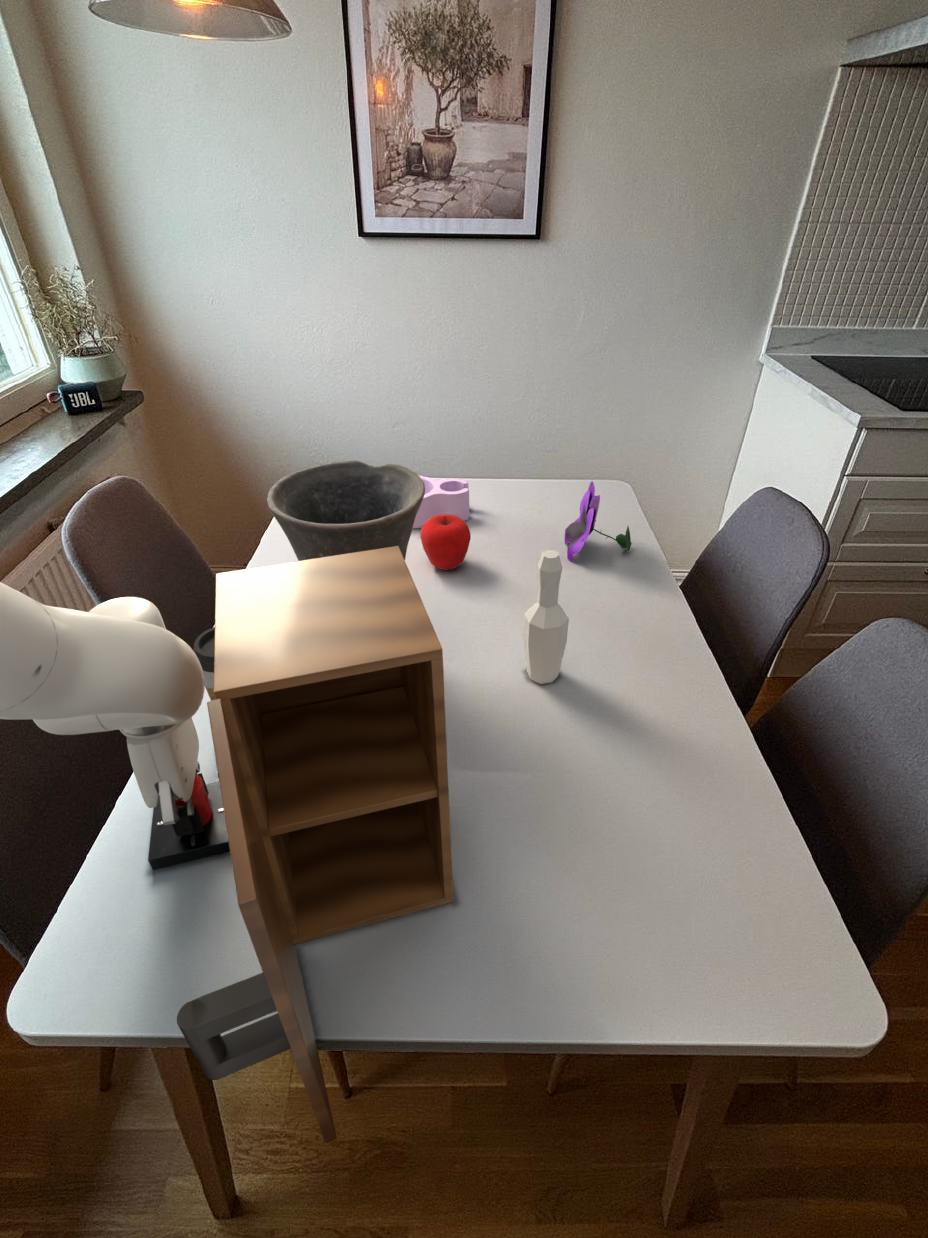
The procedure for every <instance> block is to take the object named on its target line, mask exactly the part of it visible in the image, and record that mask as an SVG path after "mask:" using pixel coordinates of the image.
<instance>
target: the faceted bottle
mask: <svg viewBox="0 0 928 1238" xmlns="http://www.w3.org/2000/svg"><path fill="white" fill-rule="evenodd" d="M536 571H537V572H536V573H537V593H536V602H535V603H534V604H532V606H531V607H529V608H528V610H526V611H525V612H524V613H523V633H522V637H523V645H524V654H525V663H526V671H527V674H528V677H529V679H530V680H531V681H533V682H535V683H537V684H539V685H543V684H544V685H545V684H551V683H553V682H554V681H555V680H556V679H557V678H558V677H559V675H560V670H561V666H562V662H563V658H564V654H565V650H566V646H567V642H568V632H569V622H570V621H569V620H570V618H569V616H568V615H567V613H566V612H565V610H564V609H563V608H562V606H561V605H560V604H559V590H560V583H561V577H562V573H563V564H562V560H561V556H560V554H559V552H558V551H557V550H554V549H547V550H544V551H543V552H541V554H540V556H539V559H538V562H537V564H536Z"/></svg>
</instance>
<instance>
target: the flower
mask: <svg viewBox="0 0 928 1238" xmlns="http://www.w3.org/2000/svg"><path fill="white" fill-rule="evenodd" d="M595 492H596V487H595V482H594V481H593V480H591V481H590V483H589V485H588V489H587V491H586V492H585V493H584V495H583V496H582V498H581V502H580V504H579V517H578V518H577V519H575V521H573V522H571V523H570V524H569V525H568V526H567V527H566V528H565V529H564V545H567V550H566V556H567V557H566V558H567V560H568V561H569V562H571V563H573V562H574V560H575V559H574V555H577V554H579V553H580V552H581V550H582V549H583V547H584V546H585V541H588V539H589V536H590V535H591V534H592V533H593V532H594V531H595V532H596V533H598V534H600V535H601V536H605V537H606V538H605V540H606V539H608V538H609V539H611V540H612V539H613V540H614V541H615V542H616V543H617V544H618V545H619V546H620V547H621V548H623V549H624V550H623V551H622V554H624V553H626V552H628V553H630V552H631V547H632V544H633V543H632V539H631V532H630V527H629V526H627V527H626V530H625V533H619V534H617V535H616V536H615V538H614V537H612V536H610V535H608V534H605V533H603V532H602V530H600V531H599V530H597V529H595V526H596V522H597V516H598V512H599V508H600V502H601V496H600V495H595Z"/></svg>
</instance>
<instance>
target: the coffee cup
mask: <svg viewBox="0 0 928 1238" xmlns="http://www.w3.org/2000/svg"><path fill="white" fill-rule="evenodd" d="M214 644H215V626H213V627H210V628H208V629H207V630H205V631H203V632H202V633H200V634H199V635H198V636H197V637H196V638H195V641H194V643H193V649H192V650H193V651H194V653H195V654H196V656H197V657H198V659H199V662H200V664H201V667H202V670H203V674H204V681H205V690H206V693H207V695H208V697H209V700H210V701H213V700H216V699H215V695H214Z"/></svg>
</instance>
